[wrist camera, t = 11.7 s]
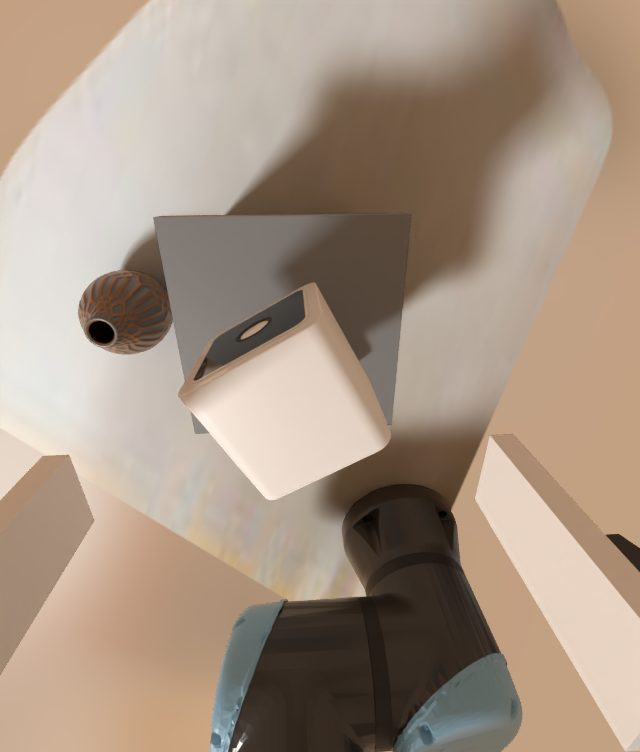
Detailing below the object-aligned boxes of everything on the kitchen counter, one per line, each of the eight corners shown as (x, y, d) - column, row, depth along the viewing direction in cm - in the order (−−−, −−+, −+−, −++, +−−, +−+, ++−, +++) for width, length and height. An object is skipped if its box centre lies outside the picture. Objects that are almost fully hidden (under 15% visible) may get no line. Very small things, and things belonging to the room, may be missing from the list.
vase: (182, 338, 37) (153, 378, 29) (110, 332, 36) (59, 371, 28) (179, 268, 34) (145, 291, 26) (100, 259, 33) (40, 280, 25)
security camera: (310, 264, 21) (323, 317, 12) (362, 360, 24) (403, 458, 15) (219, 317, 22) (171, 401, 13) (280, 403, 25) (273, 518, 16)
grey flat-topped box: (360, 352, 39) (391, 425, 27) (226, 357, 38) (195, 433, 26) (367, 206, 32) (411, 214, 20) (206, 208, 32) (153, 217, 20)
